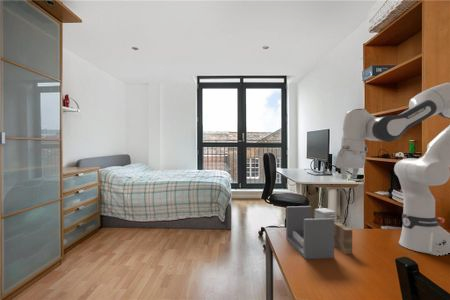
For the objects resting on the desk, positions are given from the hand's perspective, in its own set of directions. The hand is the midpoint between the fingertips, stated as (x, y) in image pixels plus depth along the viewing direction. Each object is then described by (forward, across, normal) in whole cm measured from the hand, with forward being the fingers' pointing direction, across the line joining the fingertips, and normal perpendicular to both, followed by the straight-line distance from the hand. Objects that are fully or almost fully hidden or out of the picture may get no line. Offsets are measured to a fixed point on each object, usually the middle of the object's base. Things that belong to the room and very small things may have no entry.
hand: (349, 178), depth 106 cm
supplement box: (+32, +10, +13) cm, 35 cm away
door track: (+32, -10, +10) cm, 35 cm away
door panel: (+31, 0, 0) cm, 31 cm away
